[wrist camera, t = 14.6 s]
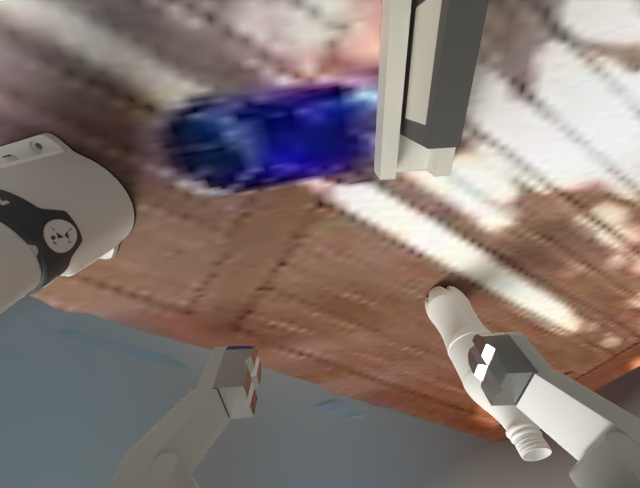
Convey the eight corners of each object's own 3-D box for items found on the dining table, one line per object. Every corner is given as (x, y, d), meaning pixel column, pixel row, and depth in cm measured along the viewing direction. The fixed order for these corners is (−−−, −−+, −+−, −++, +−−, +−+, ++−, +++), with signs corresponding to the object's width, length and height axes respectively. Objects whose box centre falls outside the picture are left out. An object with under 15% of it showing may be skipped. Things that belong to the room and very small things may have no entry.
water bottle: (412, 301, 50) (487, 461, 29) (440, 274, 47) (545, 431, 26) (440, 315, 52) (529, 474, 31) (468, 290, 49) (588, 448, 28)
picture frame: (398, 133, 35) (427, 149, 26) (411, -13, 28) (456, -58, 19) (423, 132, 35) (460, 147, 26) (442, -15, 28) (502, -62, 19)
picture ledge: (373, 171, 38) (380, 179, 35) (385, -78, 26) (397, -103, 22) (437, 167, 38) (450, 175, 34) (479, -84, 26) (505, -111, 22)
